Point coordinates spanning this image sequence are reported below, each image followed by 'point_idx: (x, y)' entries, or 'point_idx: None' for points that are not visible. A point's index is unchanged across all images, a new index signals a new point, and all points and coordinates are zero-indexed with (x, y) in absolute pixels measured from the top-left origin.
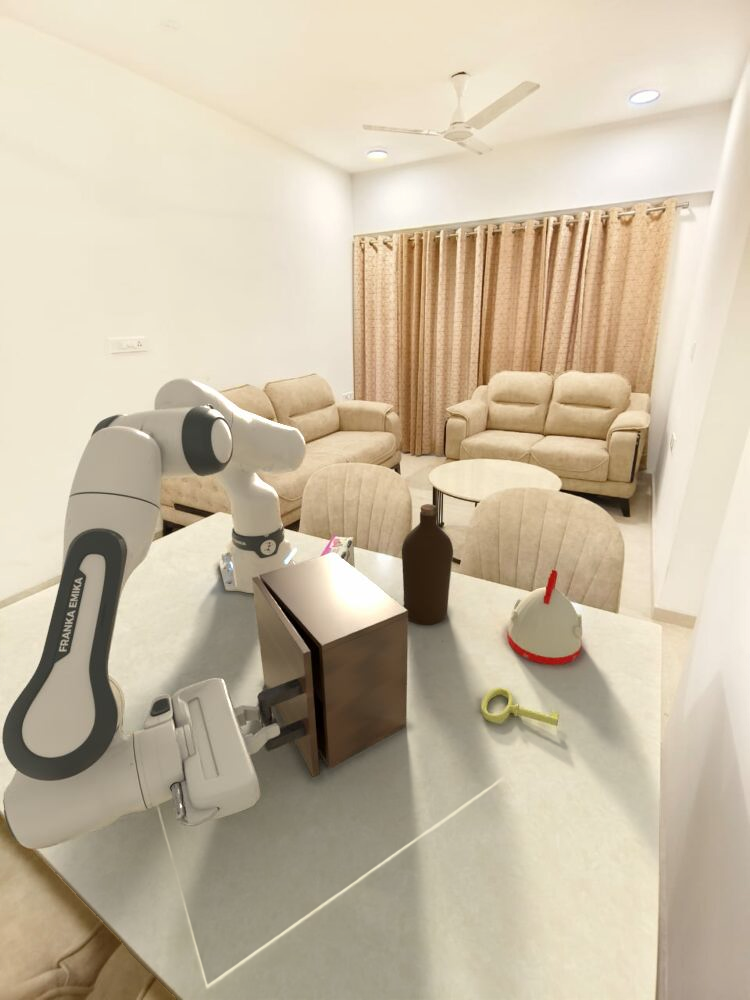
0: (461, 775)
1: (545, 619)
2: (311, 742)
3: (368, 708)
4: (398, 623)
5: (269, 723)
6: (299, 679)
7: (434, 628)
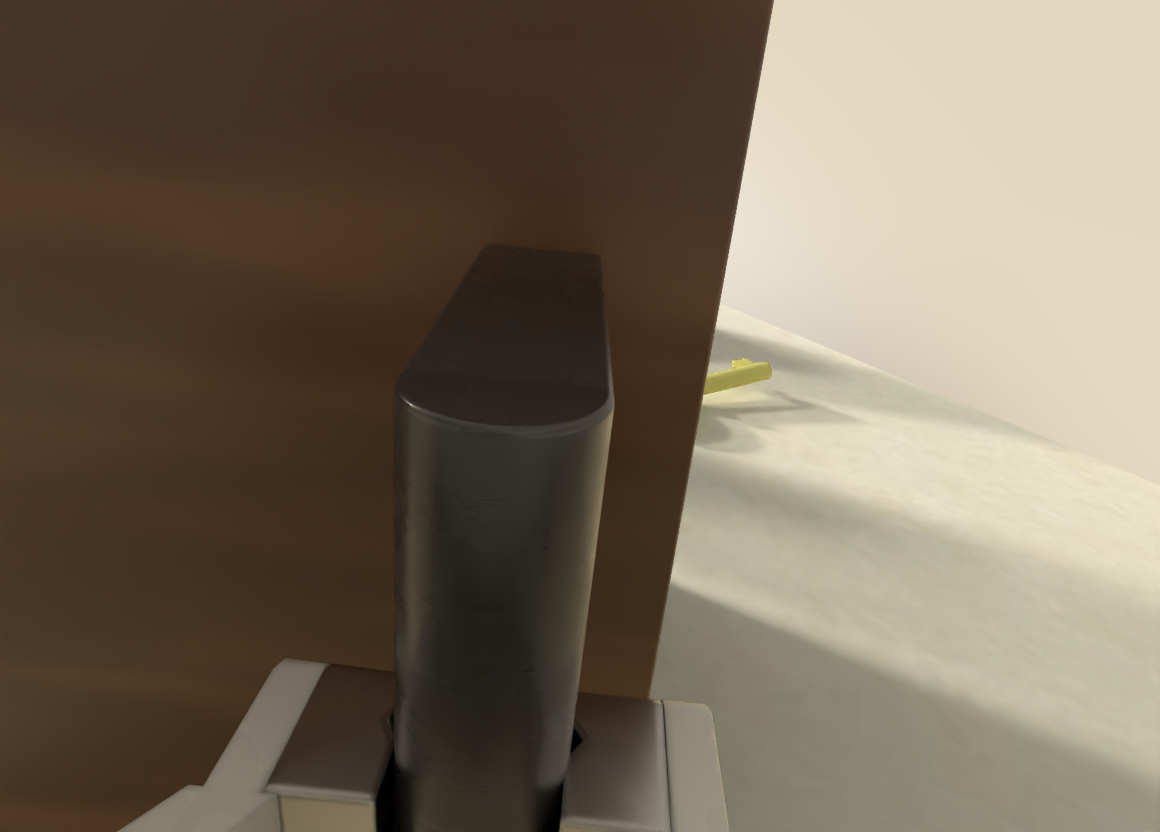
0: (821, 540)
1: None
2: None
3: None
4: None
5: (632, 760)
6: (556, 214)
7: None
